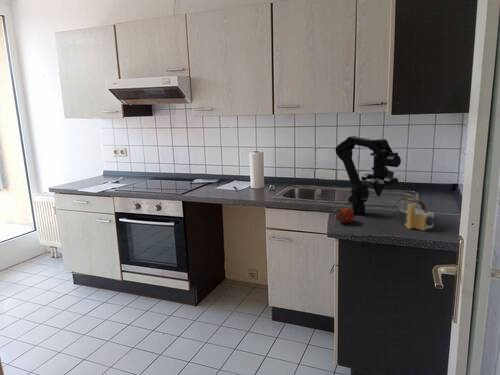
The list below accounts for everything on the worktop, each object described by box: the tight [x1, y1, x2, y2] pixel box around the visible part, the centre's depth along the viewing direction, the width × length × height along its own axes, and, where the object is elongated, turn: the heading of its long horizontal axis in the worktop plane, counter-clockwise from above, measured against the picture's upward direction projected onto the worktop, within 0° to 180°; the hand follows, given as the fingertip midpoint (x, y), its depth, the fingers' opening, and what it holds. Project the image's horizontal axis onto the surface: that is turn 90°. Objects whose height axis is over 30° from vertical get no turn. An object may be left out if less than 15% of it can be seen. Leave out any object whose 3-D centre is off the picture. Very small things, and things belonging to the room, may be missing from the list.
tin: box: [396, 197, 427, 215], centre depth 200 cm, size 15×3×8 cm, turn 35°
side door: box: [406, 204, 426, 231], centre depth 176 cm, size 7×4×11 cm, turn 30°
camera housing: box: [404, 209, 435, 230], centre depth 180 cm, size 11×7×8 cm, turn 30°
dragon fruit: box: [335, 206, 356, 224], centre depth 191 cm, size 8×8×12 cm
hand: (378, 196), depth 193 cm, fingers closed
